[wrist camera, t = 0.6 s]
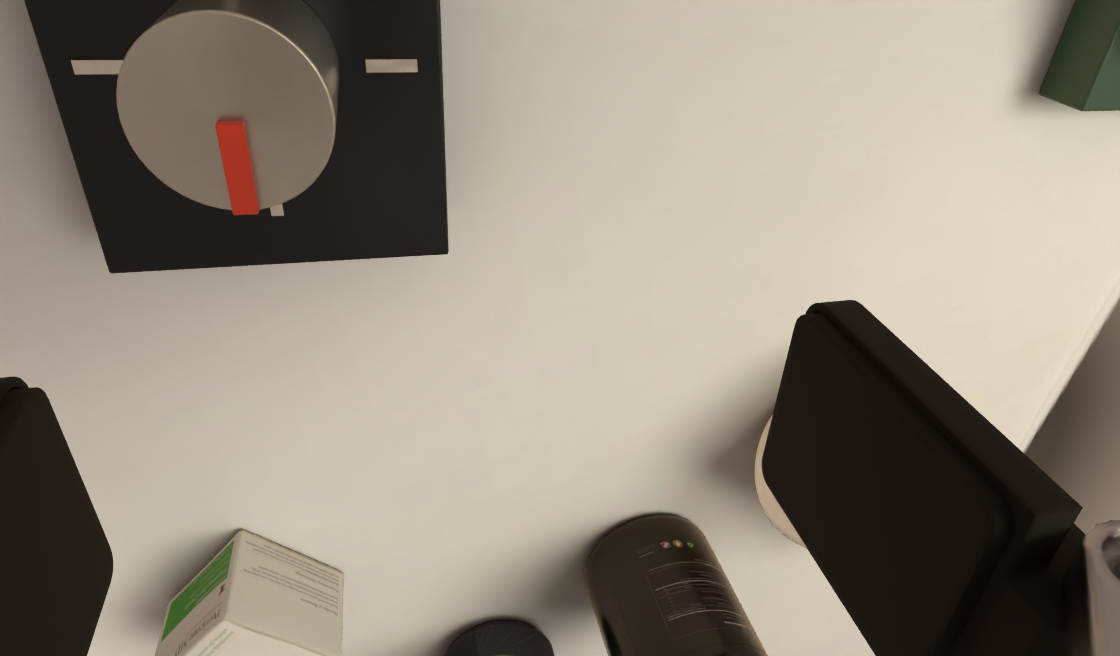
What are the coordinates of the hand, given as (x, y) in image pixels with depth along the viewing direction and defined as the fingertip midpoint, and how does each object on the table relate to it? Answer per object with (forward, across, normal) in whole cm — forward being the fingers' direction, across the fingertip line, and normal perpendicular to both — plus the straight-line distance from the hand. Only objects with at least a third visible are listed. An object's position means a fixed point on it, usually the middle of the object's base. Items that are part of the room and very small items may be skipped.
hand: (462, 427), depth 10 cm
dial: (+14, +4, -1) cm, 15 cm away
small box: (+18, +8, +23) cm, 30 cm away
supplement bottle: (+18, -11, +25) cm, 32 cm away
